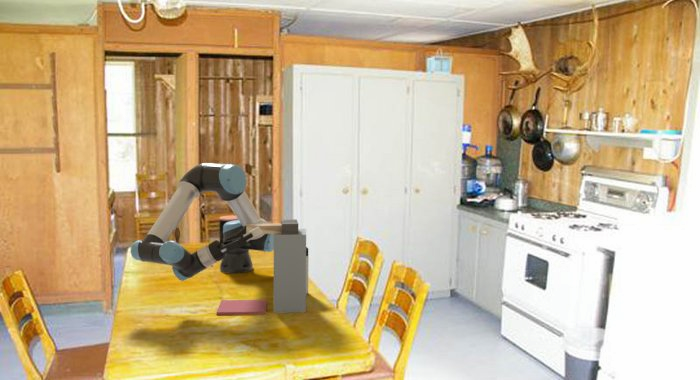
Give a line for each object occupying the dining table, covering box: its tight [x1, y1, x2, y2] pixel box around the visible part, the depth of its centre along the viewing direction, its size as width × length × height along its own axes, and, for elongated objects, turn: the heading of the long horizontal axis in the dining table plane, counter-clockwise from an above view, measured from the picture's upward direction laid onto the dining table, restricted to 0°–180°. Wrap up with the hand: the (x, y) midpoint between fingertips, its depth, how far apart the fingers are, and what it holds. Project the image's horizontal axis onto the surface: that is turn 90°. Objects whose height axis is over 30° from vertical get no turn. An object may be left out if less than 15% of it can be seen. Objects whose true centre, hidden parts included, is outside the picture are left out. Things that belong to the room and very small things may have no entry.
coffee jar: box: [218, 215, 238, 244], centre depth 302 cm, size 11×11×18 cm
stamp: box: [246, 218, 299, 235], centre depth 215 cm, size 8×19×4 cm, turn 100°
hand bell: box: [174, 226, 181, 244], centre depth 285 cm, size 8×8×16 cm
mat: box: [215, 299, 268, 316], centre depth 220 cm, size 13×18×1 cm
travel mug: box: [306, 246, 309, 296], centre depth 236 cm, size 6×7×20 cm
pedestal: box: [273, 228, 307, 314], centre depth 219 cm, size 10×12×30 cm
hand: (261, 225), depth 215 cm, fingers open, 13 cm apart
